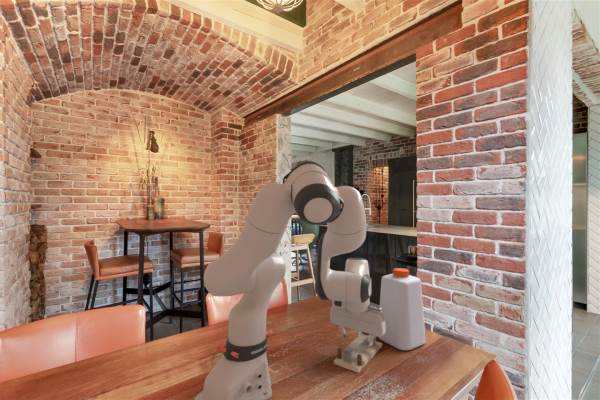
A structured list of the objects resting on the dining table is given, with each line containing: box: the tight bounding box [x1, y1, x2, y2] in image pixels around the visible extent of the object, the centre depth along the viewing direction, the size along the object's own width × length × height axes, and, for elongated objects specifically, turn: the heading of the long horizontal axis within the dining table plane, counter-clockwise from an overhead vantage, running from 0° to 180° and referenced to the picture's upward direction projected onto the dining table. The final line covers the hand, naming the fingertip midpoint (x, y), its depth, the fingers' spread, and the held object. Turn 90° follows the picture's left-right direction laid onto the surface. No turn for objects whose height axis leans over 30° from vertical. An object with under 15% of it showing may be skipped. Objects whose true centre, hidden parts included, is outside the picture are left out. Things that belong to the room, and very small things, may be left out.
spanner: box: [342, 331, 377, 365], centre depth 104 cm, size 20×6×4 cm, turn 144°
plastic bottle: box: [377, 267, 426, 351], centre depth 114 cm, size 15×15×28 cm
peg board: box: [333, 334, 383, 374], centre depth 103 cm, size 21×9×4 cm, turn 144°
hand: (356, 341), depth 103 cm, fingers open, 8 cm apart
